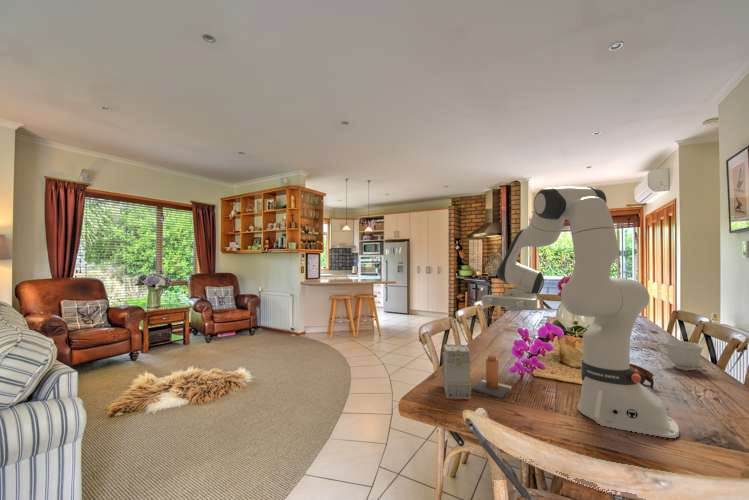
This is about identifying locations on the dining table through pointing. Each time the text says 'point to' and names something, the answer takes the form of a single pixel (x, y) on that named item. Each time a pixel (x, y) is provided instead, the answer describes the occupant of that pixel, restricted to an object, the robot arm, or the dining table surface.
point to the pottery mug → (643, 374)
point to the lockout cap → (492, 372)
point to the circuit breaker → (456, 371)
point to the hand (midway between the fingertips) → (502, 303)
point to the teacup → (682, 353)
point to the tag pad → (494, 392)
